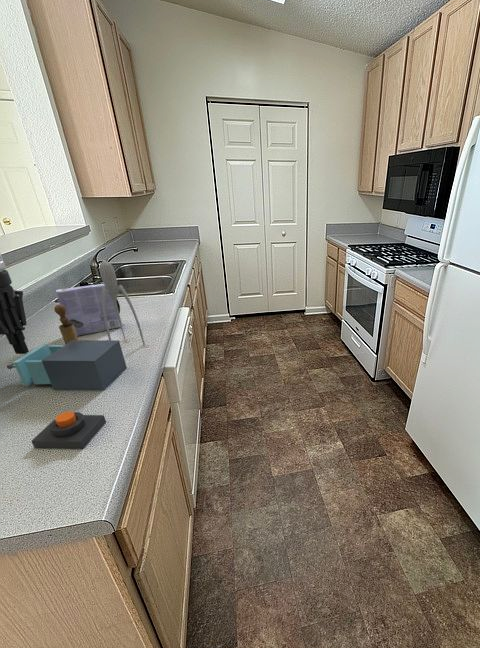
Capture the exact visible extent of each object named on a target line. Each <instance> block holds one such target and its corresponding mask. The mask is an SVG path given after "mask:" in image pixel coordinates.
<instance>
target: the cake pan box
mask: <svg viewBox="0 0 480 648" xmlns="http://www.w3.org/2000/svg"><path fill="white" fill-rule="evenodd" d="M102 288H105V289H106V287H105V285H104V283H100V284H92V285H83V286H76V287H70V288H67V287H66V288H60V289H59V288H58V289H56V290H55V294H56V297H57V300H58V303H59V304H58V305H63V306H65V308H66V312H65V316H66V317H68V323H73V325H74V328H75V331H76V334H77V337H79V336H84V335H89V334H90V335H91V334H95V333H100V332H101V333H102V332H104V331H107V330H106V326H105V321H104V315H103V308H102ZM116 302H117V307H118V311H119V315H120V314H121V305H120V302H119V299H118V298H117V301H116ZM106 316H107V322H108V327H109V330H115V329H118V328H120V329H121V327H120V323H119V320H118V317H117V314H116V310H115V307H114V304H113V300H112V297H111V296H110V294H109V293H106ZM120 319H121V317H120ZM121 320H122V319H121ZM121 324H122V325H123V322H122V321H121Z"/></svg>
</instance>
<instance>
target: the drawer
mask: <svg viewBox="0 0 480 648" xmlns="http://www.w3.org/2000/svg"><path fill="white" fill-rule="evenodd" d="M64 345H65V344H64ZM64 345H63V344H62V345H61V344H60V345H58V344H57V345H56V344H55V345H54V344H53V345H51V344H48V343H42V344H40V345H39V346H37V347H36V348H34V349H32V350H31V351H29V352H27V353H26V354H22V356H20V357H18V358H16V359H15V360H13V361H12V362H10V363H8V364H7V365H6V368H7V369H8V370H12V369H15V370H16V372H17V374H18V376H19V378H20V380H21V383H22V385H23V386H24V387H29V386H30V385H32V384H33V385H51V382H50V380H49V377H48V375H47V373H46V370H45V368H44V365H43V363H42V360H43V359H45V358H46V357H48V356H49V355H51V354H52V353H54V352H55V351H57V350H58V349H60V348H61V347H63V346H64Z"/></svg>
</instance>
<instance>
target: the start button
mask: <svg viewBox="0 0 480 648" xmlns="http://www.w3.org/2000/svg"><path fill="white" fill-rule="evenodd" d="M73 412H74V411H65V412H62V413H60V414H58V415H57V416H56V417H55V418H56V419H55V418H54V419H55V421H56V423H57V425H58V427H66V426H69V425H71V424H73V423H75V422H76V417H75V414H74V413H73Z"/></svg>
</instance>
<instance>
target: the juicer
mask: <svg viewBox="0 0 480 648" xmlns="http://www.w3.org/2000/svg"><path fill="white" fill-rule="evenodd" d="M98 267H99V268H98V269H99V274H100V278H101V280H102V284H104V285H105V287H106V289H105V288H102V308H103V315H104V321H105V326H106V330H105V331H106V335H107V337H108V340H112V338H111V333H110V329H109V327H108V322H107V316H106V293H109V294H110V296H111V297H112V300H113V304H114V307H115V310H116V314H117V317H118V320H119V323H120V330H121V333H122V336H123V339H124V341H126V336H125V332H124V328H123V323H122V324H121V322H122V319H120V318H121V315H120V314H119V311H118V307H117V302H116V301H117V299H118V292H121V293H122V295H123V297H124V299H125V300H126V302H127V304H128V306H129V308H130V310H131V311H132V312H131V313H132V314H133V317H134V320H135V322H136V325H137V328H138V331H139V335H140V339H141V341H142V345H143V346H145V345H146V343H145V340H144V339H145V338H144V335H143V332H142V327H141V324H140V322H139V318H138V315H137V313H136V311H135V308H134V305H133V303H132V301H131V299H130V297H129V295H128V293H127V291H126V290H125V288H124V287H123V285H122V284H119V285H118V280H117V275H116V271H115V267H114V266H113V265H112V264H111V262H109V261H107V260H103V261H101V262H100V264H99V266H98Z"/></svg>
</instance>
